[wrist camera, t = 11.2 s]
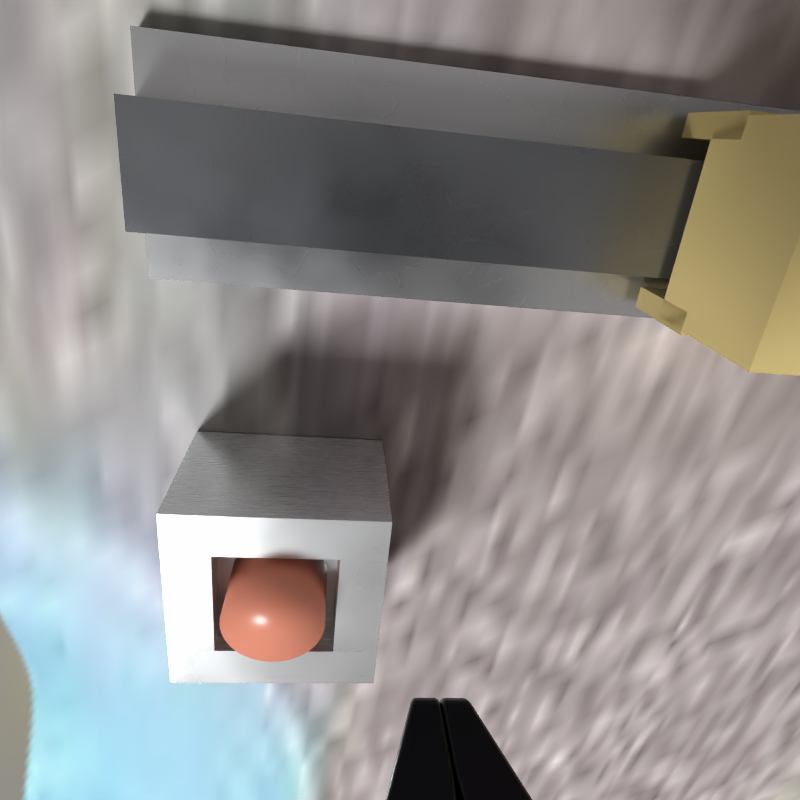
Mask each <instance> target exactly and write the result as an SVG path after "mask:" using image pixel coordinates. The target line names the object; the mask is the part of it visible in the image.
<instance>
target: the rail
mask: <svg viewBox="0 0 800 800" xmlns="http://www.w3.org/2000/svg"><path fill="white" fill-rule="evenodd" d="M130 30H131V44H132V57H133V71H134V85H135V96H129V95H121V94H114V102H115V113H116V125H117V137H118V148H119V160H120V172H121V183H122V195H123V206H124V218H125V230H126V231H127V232H138V233H145V236H146V250H147V263H148V277H149V278H154V279H166V280H179V281H192V282H204V283H217V284H230V285H242V286H255V287H267V288H280V289H293V290H305V291H318V292H331V293H343V294H356V295H369V296H381V297H394V298H407V299H419V300H432V301H444V302H457V303H470V304H482V305H495V306H508V307H520V308H533V309H546V310H558V311H571V312H584V313H596V314H609V315H622V316H634V317H647V318H653V317H651V316H649V315H648V314H646V313H645V312H643V311H641V310H640V309H638V308H637V307H635V306H636V302H637V299H638V295H639V291H640V288H641V287H649V288H661V289H667V288H668V285H669V281H670V278H671V274H672V271H673V267H674V264H675V261H676V257H677V254H678V250H679V247H680V243H681V240H682V237H683V233H684V230H685V226H686V223H687V219H688V216H689V213H690V209H691V206H692V202H693V199H694V196H695V192H696V189H697V185H698V182H699V178H700V175H701V172H702V168H703V165H704V161H705V158H706V154H707V151H708V148H709V144H710V141H704V140H696V139H687V138H682V134H683V130H684V127H685V123H686V119H687V116H688V113H694V112H719V111H745V110H752V111H760V112H768V113H776V114H800V111H797V110H789V109H781V108H773V107H765V106H757V105H750V104H742V103H734V102H726V101H718V100H710V99H702V98H695V97H687V96H679V95H671V94H663V93H655V92H647V91H640V90H632V89H624V88H616V87H608V86H600V85H592V84H585V83H577V82H569V81H561V80H553V79H545V78H537V77H530V76H522V75H514V74H506V73H498V72H490V71H482V70H475V69H467V68H459V67H451V66H443V65H435V64H427V63H420V62H412V61H404V60H396V59H388V58H380V57H372V56H365V55H357V54H349V53H341V52H333V51H325V50H317V49H310V48H302V47H294V46H286V45H278V44H270V43H263V42H255V41H247V40H239V39H231V38H223V37H215V36H208V35H200V34H192V33H184V32H176V31H168V30H160V29H153V28H145V27H137V26H130Z"/></svg>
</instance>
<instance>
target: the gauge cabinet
mask: <svg viewBox="0 0 800 800" xmlns="http://www.w3.org/2000/svg"><path fill="white" fill-rule="evenodd" d="M157 526H158V539H159V551H160V564H161V576H162V588H163V601H164V613H165V626H166V638H167V651H168V663H169V675H170V683H373V682H374V674H375V665H376V657H377V648H378V640H379V631H380V623H381V614H382V606H383V597H384V589H385V580H386V572H387V563H388V555H389V546H390V538H391V529H392V515H391V507H390V498H389V490H388V482H387V473H386V465H385V456H384V448H383V440H363V439H343V438H323V437H303V436H283V435H263V434H243V433H223V432H203V431H197V432H196V434H195V436H194V438H193V440H192V442H191V444H190V446H189V448H188V451H187V453H186V455H185V457H184V459H183V461H182V463H181V465H180V467H179V469H178V471H177V473H176V475H175V477H174V479H173V481H172V483H171V485H170V488H169V490H168V492H167V494H166V496H165V498H164V500H163V502H162V504H161V506H160V508H159V510H158V512H157ZM236 557H243V558H282V559H321V560H324V561H325V563H326V567H327V590H326V615H325V629H324V632H323V635H322V637H321V639H320V640H319V642H318V643H317V644H316V645H315V646H314V647H313V648H312V649H311V650H310V651H308V652H307V653H305V654H303V655H301V656H299V657H297V658H294V659H291V660H286V661H280V662H265V661H259V660H255V659H251V658H248V657H246V656H244V655H242V654H240V653H238V652H237V651H235V650H234V649H233V648H232V647H230V645H229V644H228V643H227V642H226V641H225V639H224V638H223V636H222V633H221V630H220V624H219V623H220V615H221V611H222V607H223V604H224V600H225V596H226V592H227V588H228V584H229V580H230V576H231V572H232V568H233V564H234V561H235V559H236Z"/></svg>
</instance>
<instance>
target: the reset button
mask: <svg viewBox="0 0 800 800" xmlns="http://www.w3.org/2000/svg"><path fill="white" fill-rule="evenodd" d="M326 590H327V567H326V563H325V561H324V560H321V559H282V558H243V557H236V559H235V561H234V564H233V568H232V572H231V576H230V580H229V584H228V588H227V592H226V596H225V600H224V604H223V607H222V611H221V615H220V623H219V624H220V630H221V633H222V636H223V638H224V639H225V641H226V642H227V643H228V644H229V645H230V647H232V648H233V649H234V650H235V651H237V652H238V653H240V654H242V655H244V656H246V657H248V658H251V659H255V660H259V661H265V662H280V661H286V660H291V659H294V658H297V657H299V656H301V655H303V654H305V653H307V652H308V651H310V650H311V649H312V648H313V647H314V646H315V645H316V644H317V643H318V642H319V640H320V639H321V637H322V635H323V632H324V629H325V615H326Z"/></svg>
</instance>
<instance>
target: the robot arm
mask: <svg viewBox="0 0 800 800" xmlns="http://www.w3.org/2000/svg"><path fill="white" fill-rule="evenodd" d="M386 800H532V799H531V797H530V795H529V794H528V792H527V791H526V789H525V788H524V786H523V784H522V783H521V781H520V780H519V778H518V777H517V775H516V773H515V772H514V770H513V769H512V767H511V766H510V764H509V762H508V761H507V759H506V758H505V756H504V755H503V753H502V751H501V750H500V748H499V747H498V745H497V744H496V742H495V741H494V739H493V737H492V736H491V734H490V733H489V731H488V730H487V728H486V726H485V725H484V723H483V722H482V720H481V719H480V717H479V715H478V714H477V712H476V711H475V709H474V708H473V706H472V705H471V703H470V702H469V701H468V700H467V699H464V698H443V699H441V700H440V702H439V700H438V699H436V698H414V699H413V700H412V701H411V704H410V707H409V711H408V715H407V719H406V723H405V727H404V730H403V734H402V738H401V742H400V746H399V750H398V753H397V757H396V761H395V765H394V769H393V773H392V777H391V780H390V784H389V788H388V792H387V796H386Z"/></svg>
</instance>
